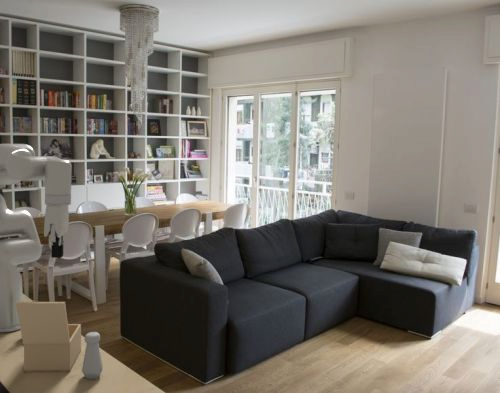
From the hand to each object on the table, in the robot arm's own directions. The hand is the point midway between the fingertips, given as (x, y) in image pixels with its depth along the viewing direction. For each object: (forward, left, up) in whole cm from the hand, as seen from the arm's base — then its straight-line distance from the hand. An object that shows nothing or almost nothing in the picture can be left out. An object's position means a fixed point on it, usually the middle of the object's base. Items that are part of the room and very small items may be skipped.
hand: (57, 256), depth 153 cm
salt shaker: (+16, +14, -32) cm, 38 cm away
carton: (+6, 0, -31) cm, 32 cm away
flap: (+16, 0, -15) cm, 22 cm away
